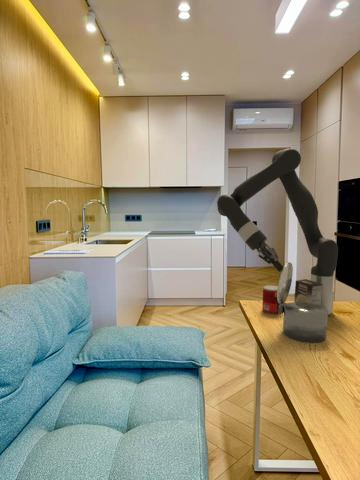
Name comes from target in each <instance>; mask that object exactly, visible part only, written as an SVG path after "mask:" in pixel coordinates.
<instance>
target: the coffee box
mask: <svg viewBox="0 0 360 480" xmlns="http://www.w3.org/2000/svg"><path fill="white" fill-rule="evenodd" d="M294 288H295V289H294V301H293V302H304V303H311V304H316V305H319V306H321V297H322V284H320V283H317V282H314V281H311V280H310V279H306V278H305V279H304V278H303V279H299V280H297V279H296V280H295V287H294Z"/></svg>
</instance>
